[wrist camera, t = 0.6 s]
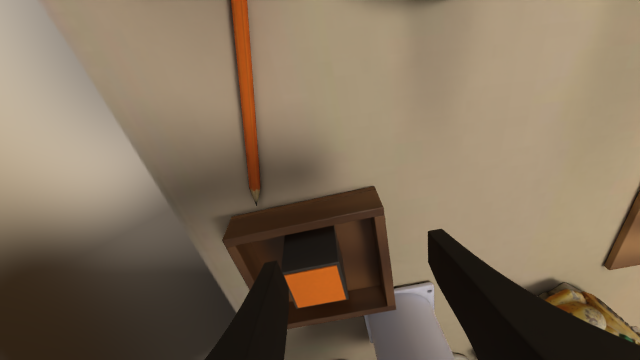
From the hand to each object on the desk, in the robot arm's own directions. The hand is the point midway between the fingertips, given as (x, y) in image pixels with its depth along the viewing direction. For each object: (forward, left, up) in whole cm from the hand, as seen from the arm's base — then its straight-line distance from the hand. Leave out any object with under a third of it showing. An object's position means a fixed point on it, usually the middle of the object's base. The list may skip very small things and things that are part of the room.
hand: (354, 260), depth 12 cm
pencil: (+8, +4, -10) cm, 13 cm away
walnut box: (-9, +3, -10) cm, 14 cm away
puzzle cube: (-7, +3, -9) cm, 12 cm away
